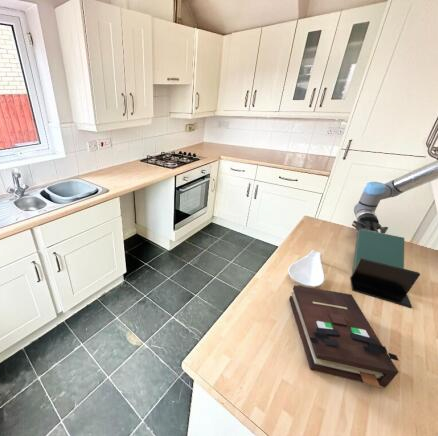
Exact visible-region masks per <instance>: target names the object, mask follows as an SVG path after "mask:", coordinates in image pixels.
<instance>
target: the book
mask: <svg viewBox="0 0 438 436" xmlns="http://www.w3.org/2000/svg"><path fill="white" fill-rule="evenodd" d="M355 237H356V238H355V245H354V246H355V247H354V248H355V249H354V255H353V264H352V272H351V273H353V271H354V269H355V267H356V265H357V263H358V261H359V260H360V258H362V259H366V260H370V261H374V262H378V263H382V264H386V265H390V266H394V267H399V268H403V269H405V237H403V236H399V235H394V234H388V233H385V234H384V233H380V231H378V232H374V231H369V230H364V229H359V231H356V236H355Z"/></svg>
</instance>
